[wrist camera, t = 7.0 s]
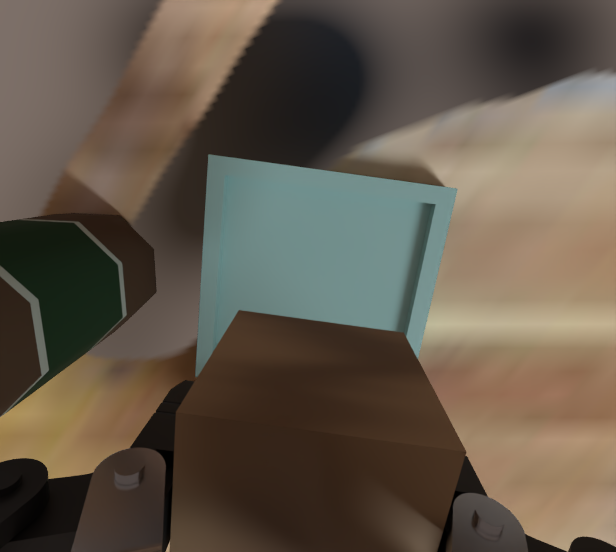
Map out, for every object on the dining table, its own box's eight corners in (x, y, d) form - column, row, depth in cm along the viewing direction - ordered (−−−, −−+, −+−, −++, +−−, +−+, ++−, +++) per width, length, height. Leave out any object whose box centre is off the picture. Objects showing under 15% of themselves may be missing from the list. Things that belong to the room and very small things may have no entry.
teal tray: (446, 187, 23) (457, 188, 21) (400, 389, 26) (406, 406, 24) (217, 156, 23) (208, 154, 21) (204, 361, 26) (195, 376, 24)
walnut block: (403, 332, 11) (466, 451, 6) (374, 468, 12) (407, 653, 8) (238, 309, 11) (175, 412, 6) (226, 448, 12) (166, 621, 8)
